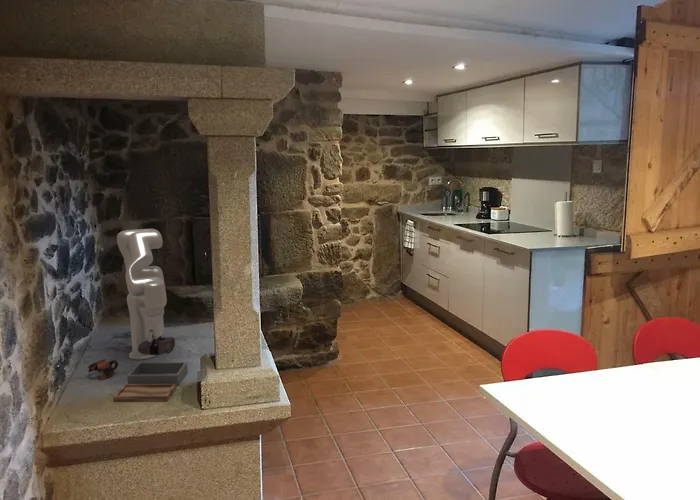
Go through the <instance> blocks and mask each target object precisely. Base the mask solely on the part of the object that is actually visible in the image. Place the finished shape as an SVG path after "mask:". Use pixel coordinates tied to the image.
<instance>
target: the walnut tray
mask: <svg viewBox="0 0 700 500" xmlns="http://www.w3.org/2000/svg"><path fill="white" fill-rule="evenodd" d="M176 389H177V386H176V384H128V383H125V384H124V385H123V386H122V387H121V388H119V390H118V391H117V392H116V393H115V395H114V396H113V397H112V398H113V402H114V403H116V402H117V403H118V402H119V403H121V402H122V403H123V402H125V403H126V402H127V403H128V402H129V403H130V402H133V403H134V402H139V403H140V402H168V401H169V400H170V399H171V397H172V395H173V393H174V392H176ZM170 396H171V397H170Z"/></svg>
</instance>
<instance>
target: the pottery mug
mask: <svg viewBox="0 0 700 500" xmlns="http://www.w3.org/2000/svg"><path fill="white" fill-rule="evenodd" d="M113 364H114V366H113ZM118 367H119V362H118V360H116V359H112V360H110V361H107V360H106V358H104V359H100V360H98V361H96V362H93V363H91V364H89V365H88V366H87V368H88V374H90V373H91V372H98V373H99V372H100V373H101V374H99V375H98V377H99V379H100V381H103V380H104V379H107V378H111V377H113V373H114V372H115V371H116V370H117V369H118Z"/></svg>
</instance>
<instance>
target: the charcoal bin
mask: <svg viewBox="0 0 700 500" xmlns="http://www.w3.org/2000/svg"><path fill="white" fill-rule="evenodd" d="M157 373H158V374H157ZM160 373H161V374H160ZM165 373H166V374H165ZM169 373H170V374H169ZM172 373H173V374H172ZM175 373H176V374H175ZM187 374H188V361H178V362H177V361H175V362H174V361H173V362H171V361H167V362H166V361H165V362H162V361H157V362H155V361H153V362H151V361H150V362H143V361H142V362H138V363H137V364H136V365H135V367H134V368H132V370H131V371H130V372H129V373H128V374H127V375H126V378H127V380H126V381H127V384H176V387H178V386H179V385H180V384H181V382H182V380H183V379H184V378H185V376H186V375H187Z"/></svg>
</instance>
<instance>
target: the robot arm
mask: <svg viewBox="0 0 700 500" xmlns="http://www.w3.org/2000/svg"><path fill="white" fill-rule="evenodd" d="M116 240H117V241H116V242H117V247H118V249H119V252H120V253H121V255H122V257H123V259H124V265H125V282H126V286H127V291H128V294H127V297H126V303H127V307H128V313H129V319H130V320H129V321H130V333H131V334H130V335H131V336H130V337H131V348H132V351H130V352H129V353H128V356H129V358H130V359H131V360H136V361H138V360H149V359H151V358H155V357H156V356H159V355H158V345H157V339H158V338H164V337H163V334H164V331H165V323H164V322H165V321H164V315H165V307H166V305H167V301H168V299H167V298H168V297H167V291H166V283H165V279H164V278H165V277H164V273H163V270H162V268H161V266H160V267H159V266H157V265H152V266H151V264H152V263H153V261H154V256H153V252H152V250H154V249H155V250H156V249H157V250H158V249H160V248H161V249H162V246H163V237H162V233H160V231H159V230H157V229H155V228H139V229H126V230H122V231H120V232H119V233H117V236H116ZM147 340H148V342H149V346H150V355H145V354H141V353H140V352H139V351H138V346H139V344H140V343H142V342H144V341H147ZM153 340H155V342H154V341H153Z"/></svg>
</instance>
